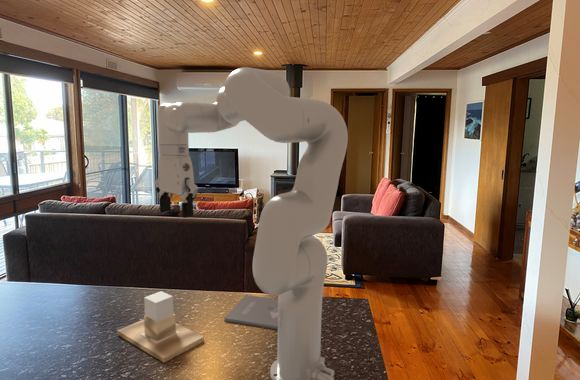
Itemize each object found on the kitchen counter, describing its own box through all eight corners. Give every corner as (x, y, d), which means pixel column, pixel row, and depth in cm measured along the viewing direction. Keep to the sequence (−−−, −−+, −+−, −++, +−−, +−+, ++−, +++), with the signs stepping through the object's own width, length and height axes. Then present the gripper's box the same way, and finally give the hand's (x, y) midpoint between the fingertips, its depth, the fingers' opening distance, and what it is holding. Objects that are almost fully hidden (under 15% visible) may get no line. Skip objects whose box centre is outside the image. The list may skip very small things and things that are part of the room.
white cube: (173, 314, 104) (172, 296, 103) (156, 321, 100) (155, 302, 99) (161, 308, 107) (161, 291, 106) (145, 315, 103) (144, 297, 102)
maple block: (175, 332, 105) (175, 314, 104) (157, 341, 100) (156, 322, 99) (162, 325, 108) (162, 308, 107) (144, 334, 104) (143, 315, 103)
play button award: (245, 294, 129) (306, 303, 124) (245, 299, 129) (306, 307, 124) (224, 317, 113) (292, 328, 108) (224, 323, 114) (292, 333, 108)
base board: (203, 341, 103) (203, 336, 103) (163, 362, 94) (163, 357, 93) (157, 317, 115) (157, 313, 115) (117, 334, 106) (117, 330, 105)
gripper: (206, 152, 105) (208, 216, 108) (166, 148, 115) (168, 207, 118) (183, 153, 99) (185, 221, 102) (142, 150, 110) (145, 211, 112)
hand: (176, 214), depth 110 cm, fingers open, 9 cm apart
